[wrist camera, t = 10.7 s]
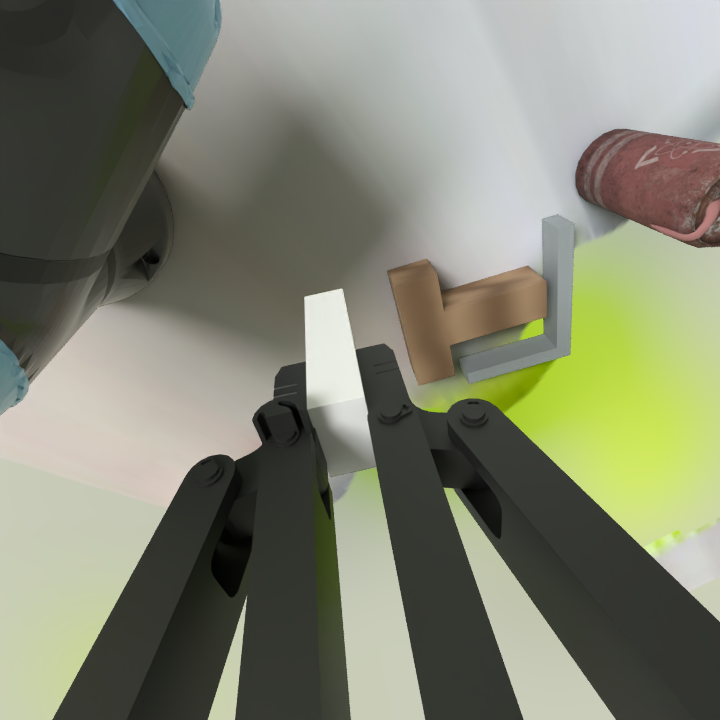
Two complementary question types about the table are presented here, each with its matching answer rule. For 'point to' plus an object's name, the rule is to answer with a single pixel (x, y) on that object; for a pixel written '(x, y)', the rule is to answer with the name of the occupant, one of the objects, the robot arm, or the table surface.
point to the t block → (459, 312)
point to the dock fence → (555, 324)
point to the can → (656, 183)
